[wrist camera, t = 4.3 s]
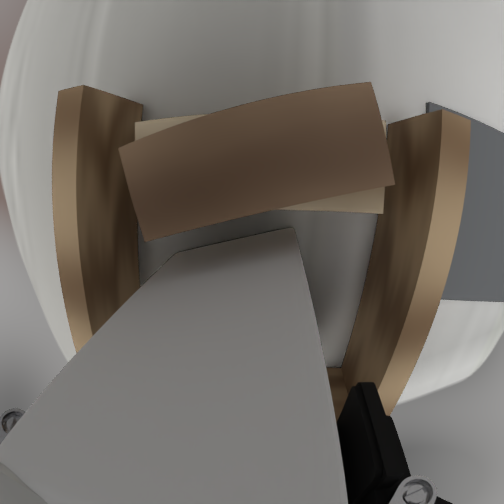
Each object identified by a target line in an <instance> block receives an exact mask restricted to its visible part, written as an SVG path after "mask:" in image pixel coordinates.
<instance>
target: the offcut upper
mask: <svg viewBox="0 0 504 504" xmlns="http://www.w3.org/2000/svg"><path fill="white" fill-rule="evenodd" d="M118 149H119V153H120V157H121V161H122V165H123V169H124V173H125V177H126V181H127V184H128V188H129V192H130V195H131V199H132V202H133V206H134V209H135V212H136V216H137V219H138V222H139V226H140V229H141V232H142V235H143V238H144V241H145V242H147V241H151V240H155V239H158V238H162V237H166V236H170V235H173V234H177V233H181V232H185V231H189V230H193V229H197V228H200V227H204V226H208V225H212V224H216V223H220V222H225V221H229V220H233V219H237V218H241V217H245V216H249V215H254V214H258V213H262V212H267V211H271V210H275V209H280V208H284V207H289V206H293V205H298V204H302V203H307V202H311V201H316V200H321V199H326V198H330V197H335V196H340V195H345V194H350V193H355V192H360V191H365V190H370V189H375V188H380V187H386V186H391V185H395V180H394V175H393V169H392V164H391V159H390V154H389V149H388V145H387V140H386V136H385V131H384V127H383V123H382V119H381V115H380V112H379V108H378V104H377V101H376V97H375V94H374V90H373V87H372V84H371V82H365V83H356V84H347V85H340V86H332V87H326V88H319V89H313V90H307V91H302V92H296V93H291V94H286V95H281V96H277V97H272V98H268V99H263V100H259V101H255V102H251V103H247V104H243V105H240V106H236V107H232V108H229V109H225V110H222V111H218V112H215V113H211V114H208V115H205V116H202V117H199V118H196V119H193V120H190V121H187V122H184V123H181V124H178V125H175V126H172V127H169V128H167V129H164V130H161V131H159V132H156V133H153V134H151V135H148V136H146V137H143V138H141V139H138V140H136V141H134V142H131V143H129V144H127V145H124V146H122V147H120V148H118Z"/></svg>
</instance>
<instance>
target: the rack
mask: <svg viewBox="0 0 504 504" xmlns="http://www.w3.org/2000/svg"><path fill="white" fill-rule="evenodd" d="M142 110H143V105H142V104H139V103H136V102H134V101H131V100H128V99H125V98H122V97H119V96H116V95H113V94H110V93H107V92H104V91H101V90H98V89H95V88H92V87H88V86H85V85H81V86H77V87H73V88H68V89H64V90H61V91H59V92H58V99H57V107H56V115H55V125H54V138H53V157H52V201H53V220H54V233H55V244H56V253H57V261H58V268H59V275H60V281H61V287H62V293H63V298H64V303H65V308H66V313H67V317H68V322H69V326H70V330H71V334H72V338H73V342H74V346H75V349H76V353H78V351H79V350H80V349H81V348H82V347H83V346H84V345H85V344H86V343H87V342H88V341H89V340H90V339H91V337H92V336H93V335H94V334H95V333H96V332H97V331H98V330H99V329H100V328H101V327H102V326H103V325H104V324H105V323H106V322H107V321H108V320H109V319H110V318H111V316H112V315H113V314H114V313H115V312H116V311H117V310H118V309H119V308H120V307H121V306H122V305H123V304H124V303H125V302H126V301H127V300H128V299H129V298H130V297H131V296H132V295H133V294H134V293H135V292H136V291H137V290H138V289H139V288H140V281H139V264H138V236H137V216H136V212H135V209H134V206H133V202H132V199H131V195H130V192H129V188H128V184H127V181H126V177H125V173H124V169H123V165H122V161H121V157H120V153H119V149H118V148H120V147H122V146H124V145H127V144H129V143H131V142H134V141H135V122H141V120H142ZM470 132H471V120H469V119H466V118H464V117H461V116H459V115H456V114H454V113H451V112H449V111H446V110H443V109H441V110H437V111H433V112H430V113H426V114H422V115H419V116H415V117H412V118H408V119H405V120H401V121H398V122H395V123H391V124H388V136H387V145H388V149H389V154H390V159H391V164H392V169H393V175H394V180H395V185H391V186H386V187H385V194H384V209H383V214H378V219H377V225H376V231H375V237H374V242H373V247H372V252H371V257H370V262H369V267H368V271H367V276H366V280H365V285H364V289H363V293H362V297H361V301H360V305H359V309H358V313H357V317H356V320H355V324H354V327H353V331H352V335H351V338H350V341H349V345H348V348H347V351H346V355H345V358H344V361H343V364H342V367H341V368H328V367H326V369H327V374H328V379H329V385H330V390H331V395H332V401H333V406H334V412H335V418H336V423H337V420H338V418H339V416H340V414H341V411H342V409H343V407H344V404H345V402H346V399H347V397H348V394H349V392H350V389H351V387H352V386H356V384H357V383H358V382H374V383H375V385H376V388H377V391H378V393H379V396H380V399H381V402H382V405H383V408H384V411H385V414H386V415H388V416H390V414H391V412H392V411H393V409H394V407H395V405H396V403H397V401H398V399H399V398H400V396H401V394H402V392H403V390H404V388H405V386H406V384H407V382H408V380H409V378H410V375H411V373H412V371H413V369H414V367H415V365H416V362H417V360H418V358H419V356H420V353H421V351H422V348H423V346H424V344H425V341H426V339H427V336H428V334H429V331H430V328H431V326H432V323H433V320H434V317H435V315H436V312H437V309H438V306H439V303H440V300H441V297H442V294H443V290H444V287H445V284H446V280H447V277H448V273H449V270H450V266H451V262H452V258H453V254H454V250H455V246H456V241H457V237H458V232H459V227H460V222H461V216H462V211H463V205H464V198H465V191H466V183H467V175H468V164H469V152H470Z"/></svg>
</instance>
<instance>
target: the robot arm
mask: <svg viewBox="0 0 504 504" xmlns="http://www.w3.org/2000/svg"><path fill="white" fill-rule="evenodd" d="M24 413H25V411H24V410H21V409H18V408H13V409H9V410H7V411H5V412H4V413H3V414H2V415H1V416H0V444H1V443H2V441H3V440H4V439H5V437H6V436H7V435H8V433H9V432H10V431H11V430H12V428H13V427H14V426H15V424H16V423H17V422H18V421H19V419H20V418H21V417H22V416H23V415H24ZM336 424H337V430H338V436H339V442H340V448H341V455H342V461H343V468H344V475H345V483H346V490H347V498H348V504H452V503H450V502H447V501H446V500H443V499H441V498H439V497H437V488H436V486H435V484H434V483H433V481H431V479H429V478H427V477H425V476H420V475H414V476H411V475H410V471H409V469H408V465H407V462H406V458H405V456H404V452H403V449H402V446H401V443H400V440H399V437H398V434H397V431H396V428H395V425H394V422H393V420H392V418H391V417H390V416H388V415H386V414H385V411H384V408H383V405H382V402H381V399H380V396H379V393H378V391H377V388H376V385H375V383H374V382H358V383H357V384H356V386H352V387H351V389H350V392H349V394H348V397H347V399H346V402H345V404H344V407H343V409H342V411H341V414H340V416H339V418H338V420H337V423H336ZM0 504H48V503H47V502H46V501H45V500H44V499H43V498H41V497H40V496H39V495H38V494H37V493H35V492H34V491H33V490H32V489H31V488H29V487H28V486H27V485H26V484H25V483H24V482H23V481H22V480H21V479H20V478H19V477H17V476H16V475H15V474H14V473H13V472H12V471H11V470H10V469H9V468H8V467H6V466H5V465H4V464H2V463H1V462H0Z"/></svg>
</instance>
